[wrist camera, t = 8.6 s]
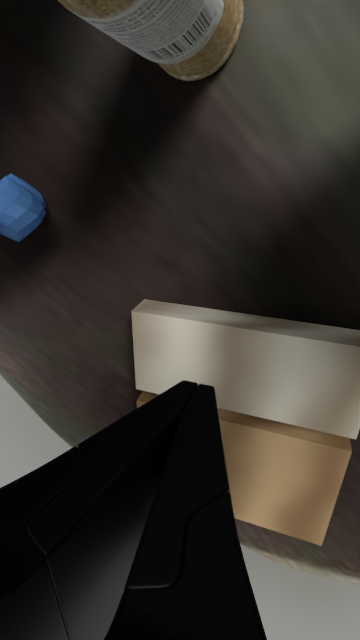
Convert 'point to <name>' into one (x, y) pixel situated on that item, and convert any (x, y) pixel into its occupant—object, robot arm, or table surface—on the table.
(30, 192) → the grapes
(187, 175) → the table surface
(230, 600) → the robot arm
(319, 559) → the table surface
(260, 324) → the ash board
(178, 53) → the sprinkles bottle
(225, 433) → the oak plank
